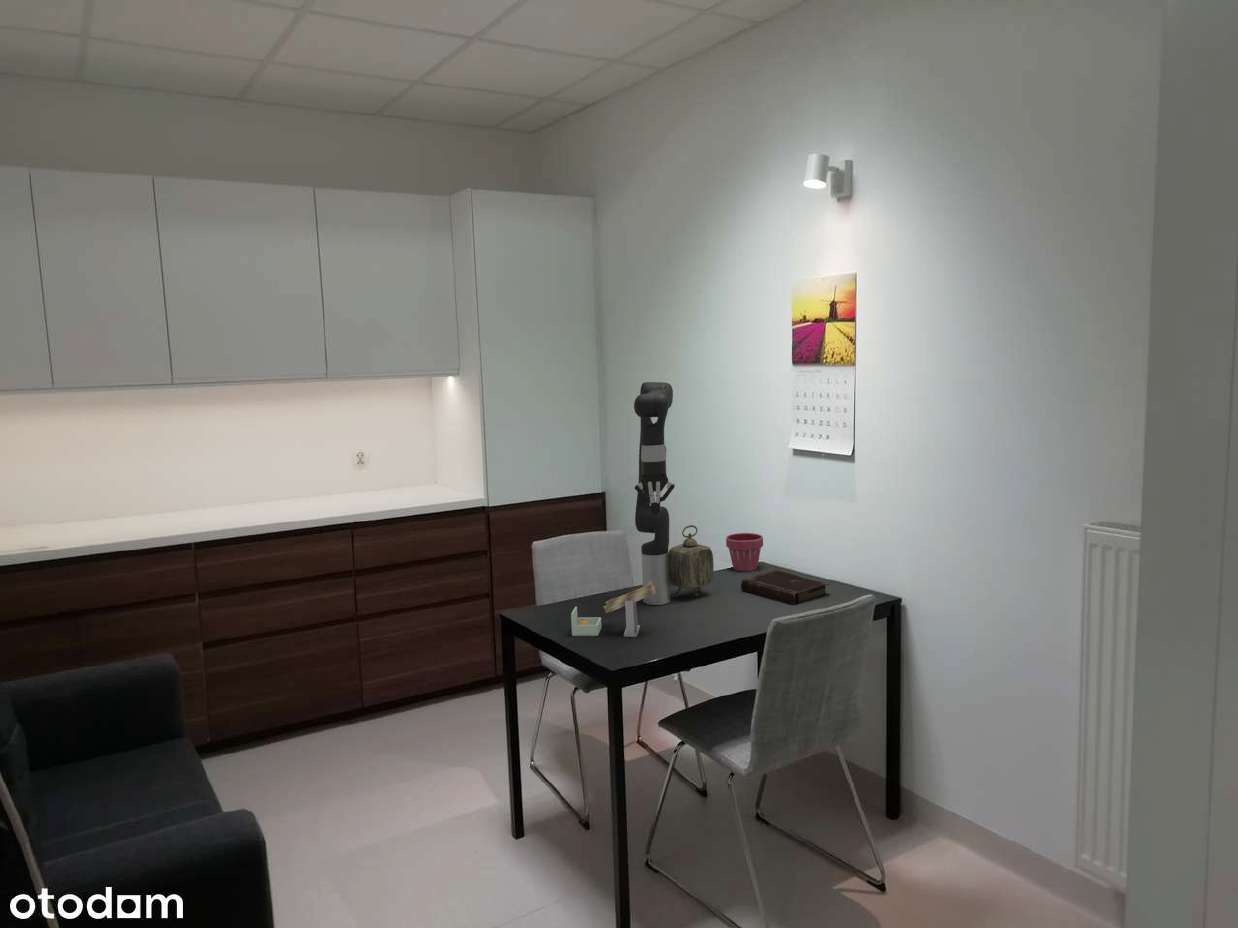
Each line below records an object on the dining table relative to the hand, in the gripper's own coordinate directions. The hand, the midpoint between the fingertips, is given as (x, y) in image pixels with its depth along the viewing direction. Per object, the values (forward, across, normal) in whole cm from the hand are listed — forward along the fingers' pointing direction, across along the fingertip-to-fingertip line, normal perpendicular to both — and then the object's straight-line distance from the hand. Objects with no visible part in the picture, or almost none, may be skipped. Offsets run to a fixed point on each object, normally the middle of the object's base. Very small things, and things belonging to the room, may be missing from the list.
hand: (655, 514), depth 277 cm
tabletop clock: (+35, -9, -32) cm, 48 cm away
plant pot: (+35, -28, -70) cm, 83 cm away
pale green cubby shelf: (+35, +22, +8) cm, 42 cm away
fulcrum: (+35, +8, +8) cm, 37 cm away
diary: (+36, -41, -35) cm, 65 cm away
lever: (+26, +8, +5) cm, 27 cm away
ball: (+33, +23, +8) cm, 41 cm away
